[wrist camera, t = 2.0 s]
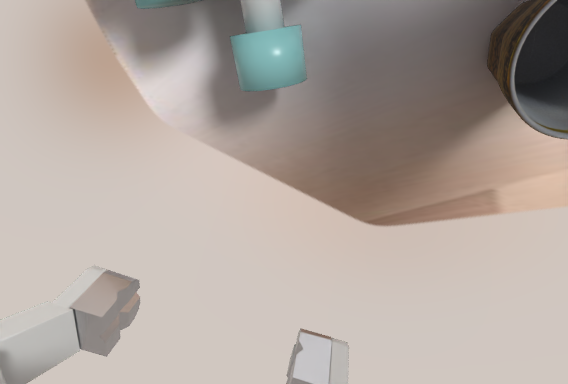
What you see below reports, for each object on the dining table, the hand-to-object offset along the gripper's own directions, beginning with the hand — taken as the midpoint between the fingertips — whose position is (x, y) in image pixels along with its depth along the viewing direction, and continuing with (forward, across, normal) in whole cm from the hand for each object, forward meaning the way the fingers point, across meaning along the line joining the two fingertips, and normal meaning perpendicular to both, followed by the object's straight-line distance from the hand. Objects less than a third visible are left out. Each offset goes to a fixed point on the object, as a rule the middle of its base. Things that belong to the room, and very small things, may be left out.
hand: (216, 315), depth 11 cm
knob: (+24, +6, -9) cm, 26 cm away
